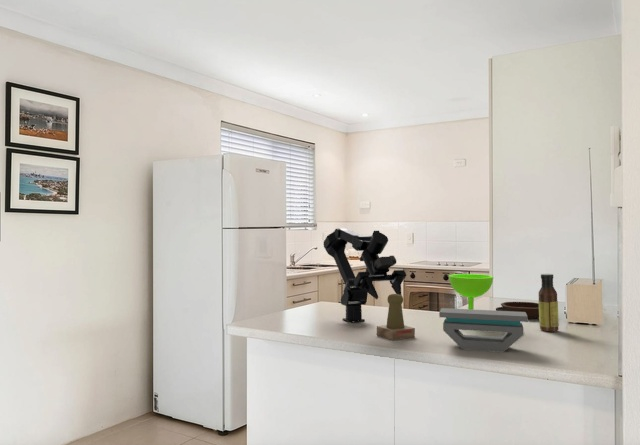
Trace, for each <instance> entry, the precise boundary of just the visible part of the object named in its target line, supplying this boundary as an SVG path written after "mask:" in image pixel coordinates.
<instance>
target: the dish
mask: <svg viewBox="0 0 640 445" xmlns="http://www.w3.org/2000/svg"><path fill="white" fill-rule="evenodd" d="M495 311H515V312H526V314H527V316H528V320H533V319H534V320H535V319H539V302H532V301H505V302H501V303H500V306H499V307H498V306H497V307H496V308H495Z"/></svg>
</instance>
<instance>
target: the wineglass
mask: <svg viewBox="0 0 640 445" xmlns="http://www.w3.org/2000/svg"><path fill="white" fill-rule="evenodd" d="M448 278H449V283H450V286H451V287H452V289H453V290H454V291H455V292H456V293H457V294H459V295H461V296H462V297H465V298H467V304H468V306H467V307H468V308H467V309H471V310H475V309H474V303H475V302H474V298H478V297H481V296H483V295H485V294H486V293H487V292H488V291H489V290H490V289H491V286H492V285H493V280H494V276H493V275H489V274H481V273H479V274H477V273H456V274H449V275H448Z"/></svg>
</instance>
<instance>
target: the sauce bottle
mask: <svg viewBox="0 0 640 445" xmlns="http://www.w3.org/2000/svg"><path fill="white" fill-rule="evenodd" d="M540 279H541V287H540V289H539V291H538V303H539V318H538V320H539V321H538V322H539V329H540V330H541V331H543V332H548V331H549V332H550V333H553V332H554V331H556V332H558V331H559V329H560V328H559V325H560V323H559V321H560V320H559V302H558V292H557V291H556V289H555V287H554V274H552V273H541V274H540Z"/></svg>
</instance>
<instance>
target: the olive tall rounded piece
mask: <svg viewBox="0 0 640 445" xmlns="http://www.w3.org/2000/svg"><path fill="white" fill-rule="evenodd" d="M403 302H404V297H403V294H401V295H399V294H396V293H391V294H389V295H388V296H387V303H388V312H387V318H386V324H385V325H386V327H387V328H391V329H402V328H404V325H405V321H404V320H405V319H404V312H403V307H402V306H403V305H402V304H403Z"/></svg>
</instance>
